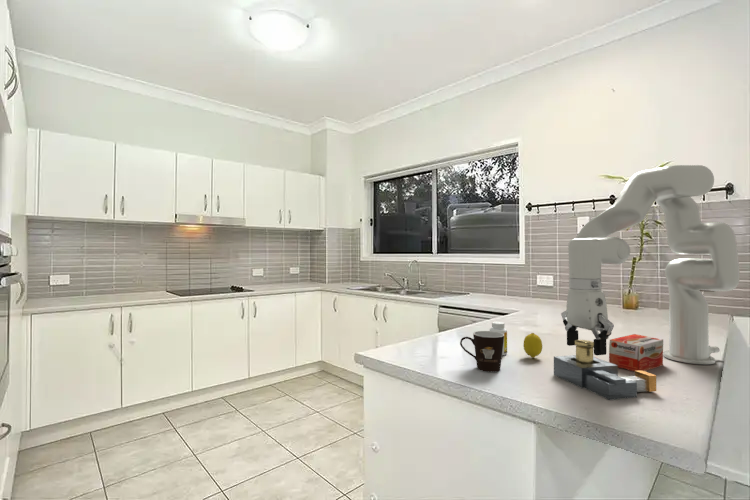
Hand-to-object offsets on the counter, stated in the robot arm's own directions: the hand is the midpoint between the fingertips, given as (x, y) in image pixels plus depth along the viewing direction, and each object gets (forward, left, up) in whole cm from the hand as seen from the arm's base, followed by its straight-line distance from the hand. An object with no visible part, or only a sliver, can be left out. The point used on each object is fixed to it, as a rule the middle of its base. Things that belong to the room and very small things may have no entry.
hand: (585, 349), depth 101 cm
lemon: (+2, -21, -8) cm, 22 cm away
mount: (+1, +3, -8) cm, 8 cm away
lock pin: (-5, +10, -8) cm, 13 cm away
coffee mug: (+22, -15, -8) cm, 27 cm away
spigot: (0, 0, -8) cm, 8 cm away
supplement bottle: (+10, -28, -8) cm, 31 cm away
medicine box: (-24, -8, -8) cm, 27 cm away
